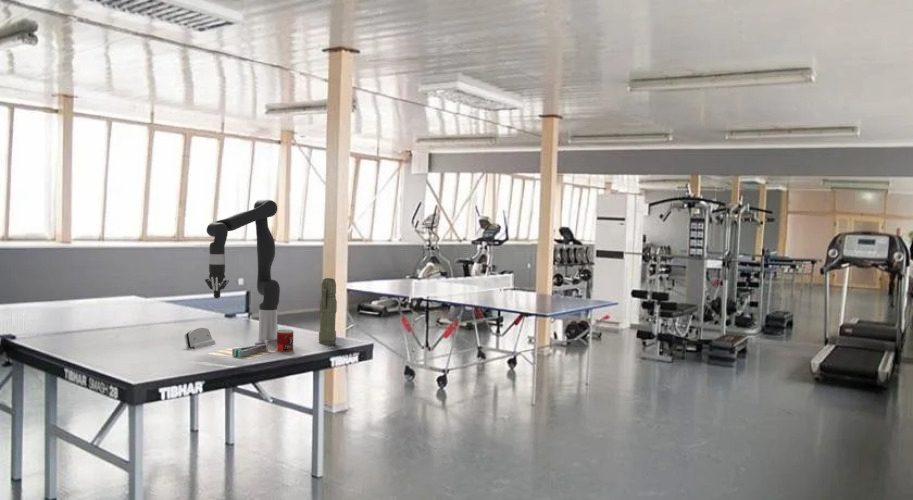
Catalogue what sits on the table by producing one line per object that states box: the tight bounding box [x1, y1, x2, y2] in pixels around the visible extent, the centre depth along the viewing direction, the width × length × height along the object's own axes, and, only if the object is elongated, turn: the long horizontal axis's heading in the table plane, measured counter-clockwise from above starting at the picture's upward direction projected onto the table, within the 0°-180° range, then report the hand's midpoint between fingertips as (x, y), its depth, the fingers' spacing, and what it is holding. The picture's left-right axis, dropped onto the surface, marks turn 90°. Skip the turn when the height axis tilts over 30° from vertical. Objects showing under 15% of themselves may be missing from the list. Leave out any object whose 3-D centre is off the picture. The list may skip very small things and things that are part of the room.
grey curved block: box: [184, 327, 216, 350], centre depth 345 cm, size 17×5×10 cm, turn 164°
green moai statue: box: [318, 277, 338, 347], centre depth 359 cm, size 9×12×35 cm
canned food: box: [276, 329, 294, 353], centre depth 333 cm, size 8×8×11 cm
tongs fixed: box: [237, 340, 269, 359], centre depth 323 cm, size 20×3×5 cm, turn 161°
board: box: [207, 346, 277, 360], centre depth 325 cm, size 21×24×1 cm
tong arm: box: [232, 341, 265, 356], centre depth 322 cm, size 18×3×4 cm, turn 146°
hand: (216, 298), depth 337 cm, fingers closed
